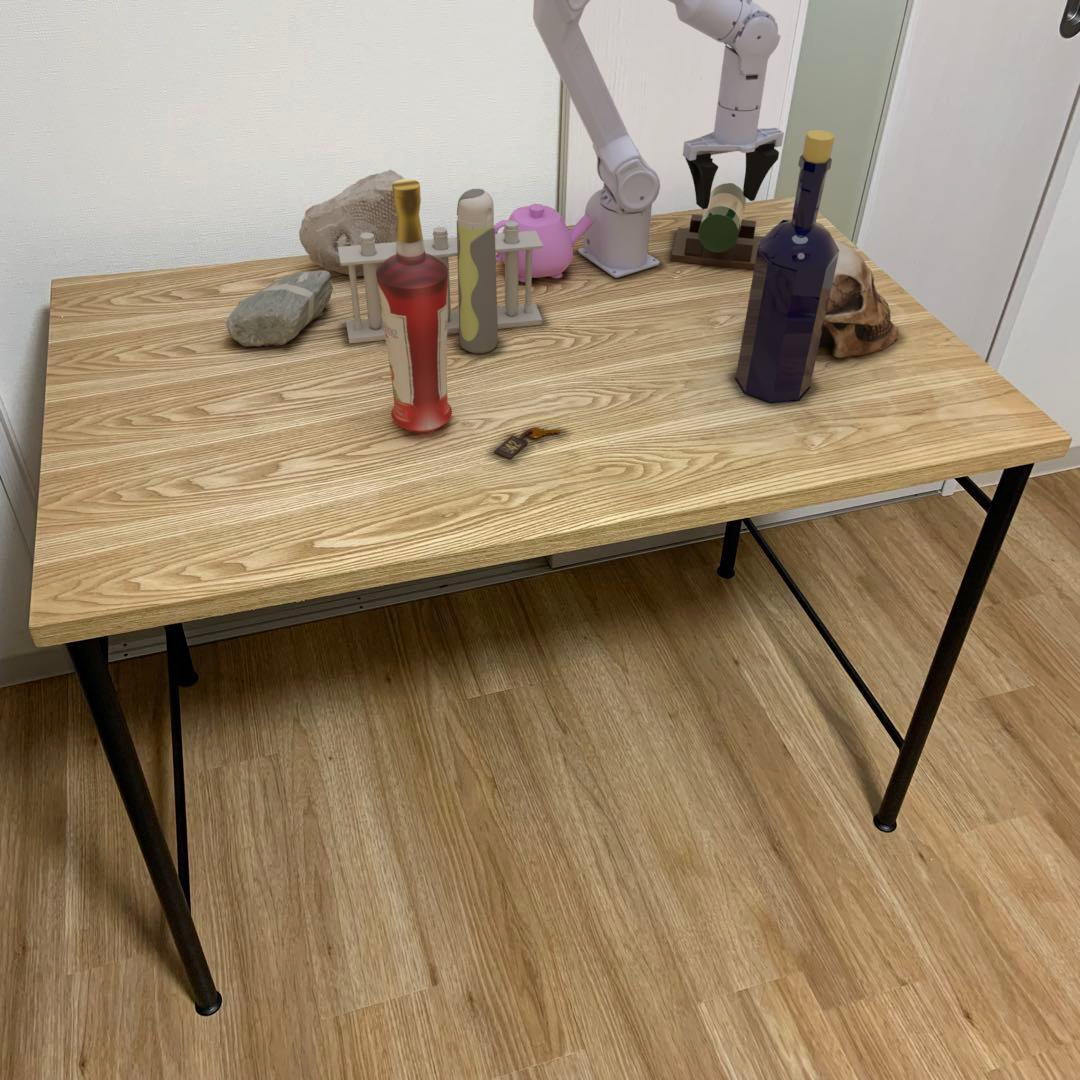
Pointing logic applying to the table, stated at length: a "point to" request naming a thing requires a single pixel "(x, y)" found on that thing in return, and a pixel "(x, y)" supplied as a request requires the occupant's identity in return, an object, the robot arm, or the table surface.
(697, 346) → the table surface
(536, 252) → the teapot
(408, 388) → the liquor
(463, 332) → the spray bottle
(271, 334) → the decorative stone
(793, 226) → the bottle
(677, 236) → the wine rack
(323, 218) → the fossil
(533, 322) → the test tube rack
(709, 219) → the wine bottle
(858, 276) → the skull
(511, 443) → the key tag
